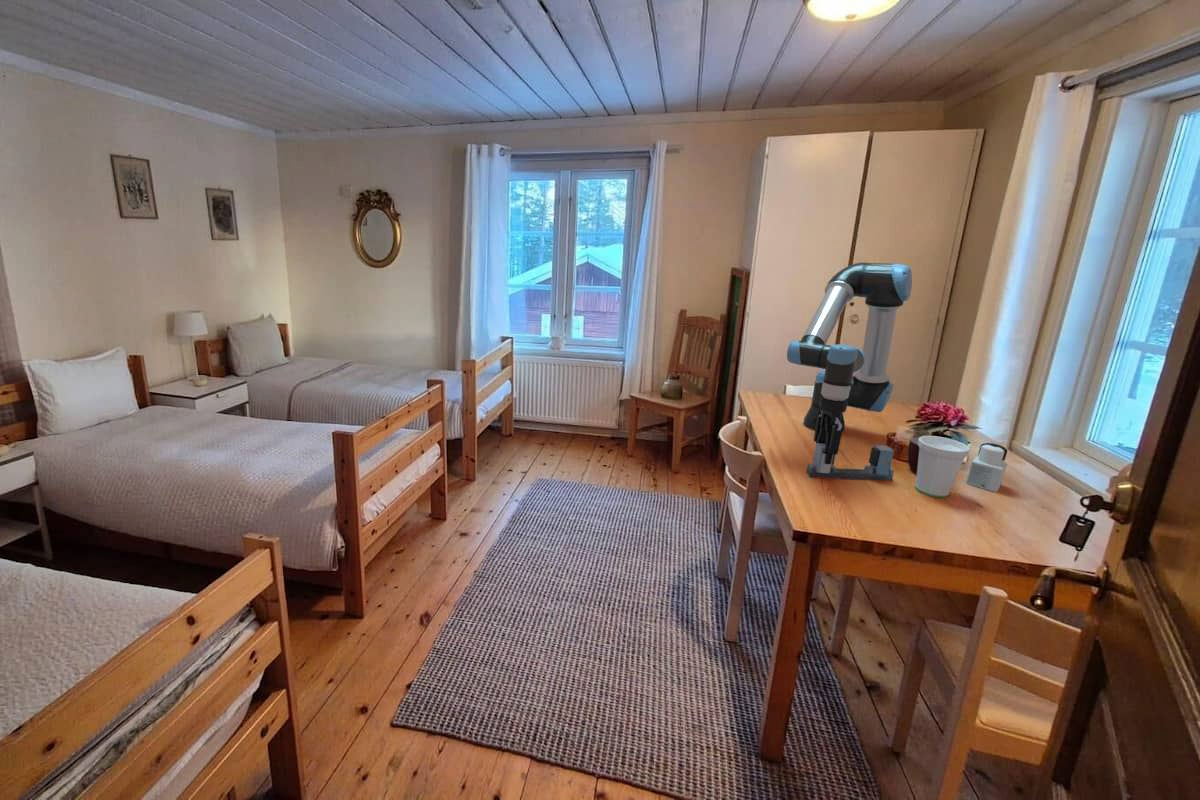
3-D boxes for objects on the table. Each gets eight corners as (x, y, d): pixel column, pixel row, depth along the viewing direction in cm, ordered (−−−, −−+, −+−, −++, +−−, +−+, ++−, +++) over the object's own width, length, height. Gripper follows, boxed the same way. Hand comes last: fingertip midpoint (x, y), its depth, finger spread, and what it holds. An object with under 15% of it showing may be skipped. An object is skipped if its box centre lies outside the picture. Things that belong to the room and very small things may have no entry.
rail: (805, 472, 159) (810, 442, 156) (885, 475, 159) (892, 446, 156) (810, 477, 155) (815, 447, 152) (892, 481, 155) (899, 451, 153)
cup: (912, 495, 146) (924, 447, 142) (903, 478, 157) (914, 433, 153) (962, 504, 142) (976, 454, 138) (949, 486, 153) (962, 439, 149)
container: (971, 476, 161) (981, 438, 157) (1001, 485, 156) (1012, 446, 152) (965, 483, 156) (976, 444, 152) (996, 492, 150) (1008, 452, 147)
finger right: (812, 466, 158) (816, 443, 156) (827, 467, 158) (831, 443, 156) (817, 472, 155) (821, 448, 152) (832, 472, 155) (837, 448, 152)
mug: (936, 481, 156) (944, 452, 153) (907, 476, 159) (914, 447, 156) (929, 469, 166) (936, 440, 163) (901, 464, 168) (908, 436, 165)
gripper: (861, 406, 142) (845, 481, 148) (834, 389, 158) (821, 458, 165) (834, 405, 141) (820, 480, 148) (810, 388, 158) (798, 457, 165)
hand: (821, 469), depth 156 cm, fingers closed on finger right, 4 cm apart
